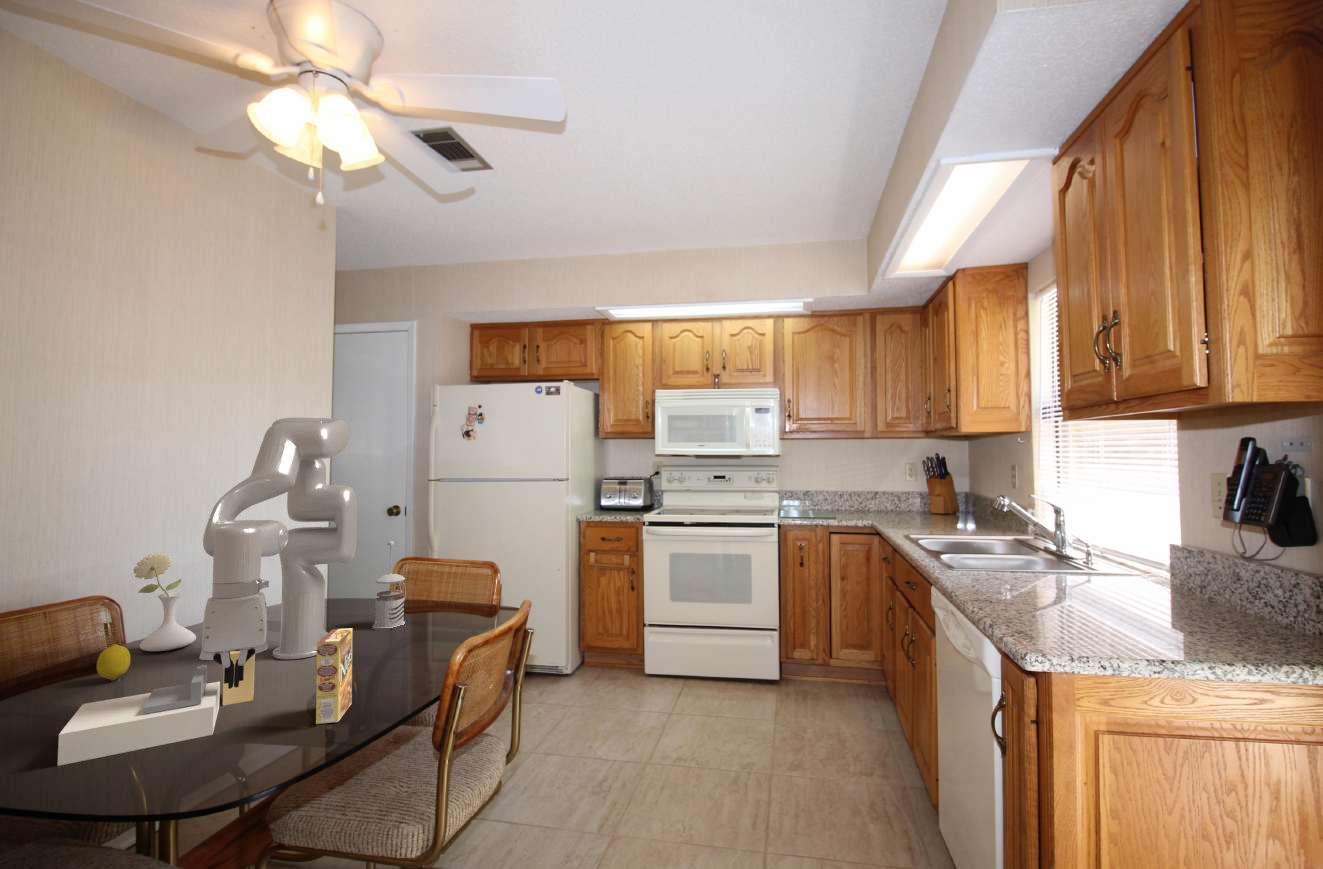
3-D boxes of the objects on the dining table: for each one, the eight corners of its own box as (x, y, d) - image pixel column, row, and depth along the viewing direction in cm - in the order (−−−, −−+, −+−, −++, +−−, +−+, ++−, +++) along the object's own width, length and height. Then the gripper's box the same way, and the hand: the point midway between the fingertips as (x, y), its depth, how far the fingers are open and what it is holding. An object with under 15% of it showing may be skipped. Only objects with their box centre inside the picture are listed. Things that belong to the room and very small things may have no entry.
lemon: (109, 686, 129) (110, 649, 129) (89, 684, 130) (90, 647, 130) (136, 677, 134) (137, 641, 134) (117, 675, 135) (118, 639, 135)
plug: (253, 692, 126) (255, 634, 126) (252, 700, 121) (254, 641, 122) (224, 697, 123) (226, 638, 123) (222, 705, 119) (224, 645, 119)
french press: (363, 630, 171) (365, 542, 172) (388, 619, 182) (389, 537, 183) (394, 631, 169) (396, 543, 170) (417, 620, 180) (419, 538, 181)
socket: (219, 706, 118) (220, 681, 118) (212, 734, 106) (213, 706, 106) (81, 732, 107) (82, 704, 107) (57, 765, 95) (58, 734, 96)
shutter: (206, 685, 115) (207, 665, 116) (200, 703, 107) (201, 681, 107) (152, 694, 111) (153, 673, 111) (142, 714, 103) (143, 690, 103)
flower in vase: (193, 638, 162) (195, 547, 163) (199, 648, 154) (202, 551, 155) (129, 649, 153) (132, 552, 154) (131, 660, 145) (135, 557, 146)
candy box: (339, 723, 111) (340, 640, 112) (314, 725, 110) (316, 641, 111) (352, 703, 120) (354, 627, 120) (329, 705, 119) (331, 628, 119)
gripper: (282, 581, 122) (279, 672, 121) (189, 590, 114) (186, 687, 113) (282, 588, 115) (280, 684, 115) (184, 598, 107) (181, 701, 107)
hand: (233, 685), depth 114 cm, fingers closed
